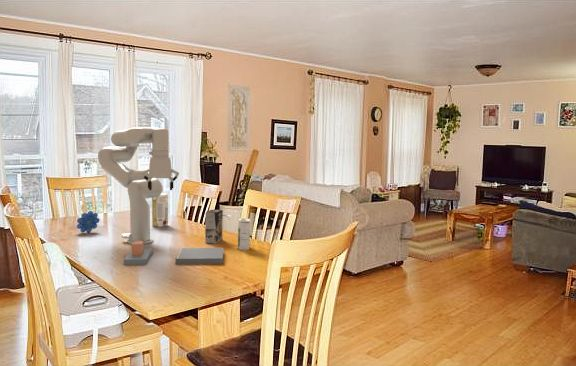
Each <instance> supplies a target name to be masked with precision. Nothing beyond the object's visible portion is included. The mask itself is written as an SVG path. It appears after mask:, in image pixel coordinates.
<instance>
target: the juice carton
mask: <svg viewBox="0 0 576 366" xmlns="http://www.w3.org/2000/svg"><path fill="white" fill-rule="evenodd" d="M168 194H169V193H163V192H162V193H161V195H159V196H157V197H152V198H151V226H152V227H155V228H156V227H157V228H161V227H166V226H169V195H168Z"/></svg>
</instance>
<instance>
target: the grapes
mask: <svg viewBox="0 0 576 366" xmlns="http://www.w3.org/2000/svg"><path fill="white" fill-rule="evenodd" d="M98 216H99V214H98V213H97V212H94V211H92V210H89V211H87V212H83V213H81V216H80V217H78V218H77V220H76V221H77V223H78V224H77V225H76V229H78V230H79V231H80V233H85V232H86V233H91V232H92V230H95V229H97V227H98V224H99V223H100V218H99V217H98Z"/></svg>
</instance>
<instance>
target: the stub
mask: <svg viewBox="0 0 576 366" xmlns="http://www.w3.org/2000/svg"><path fill="white" fill-rule="evenodd" d="M144 245H145V244H144V241H134V242H133V243H132V244H131V250H129V252H128V254H127V255H126V256H125V257H124V259H123V265H124V266H130V265H131V266H132V265H133V266H134V265H135V266H137V265H139V266H140V265H141V266H142V265H144V266H145V265H147V263H148V262H149V261H150V258H151V257H152V256H153V253H154V252H153V251H154V248H153V247H152V248H145V247H144Z"/></svg>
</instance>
